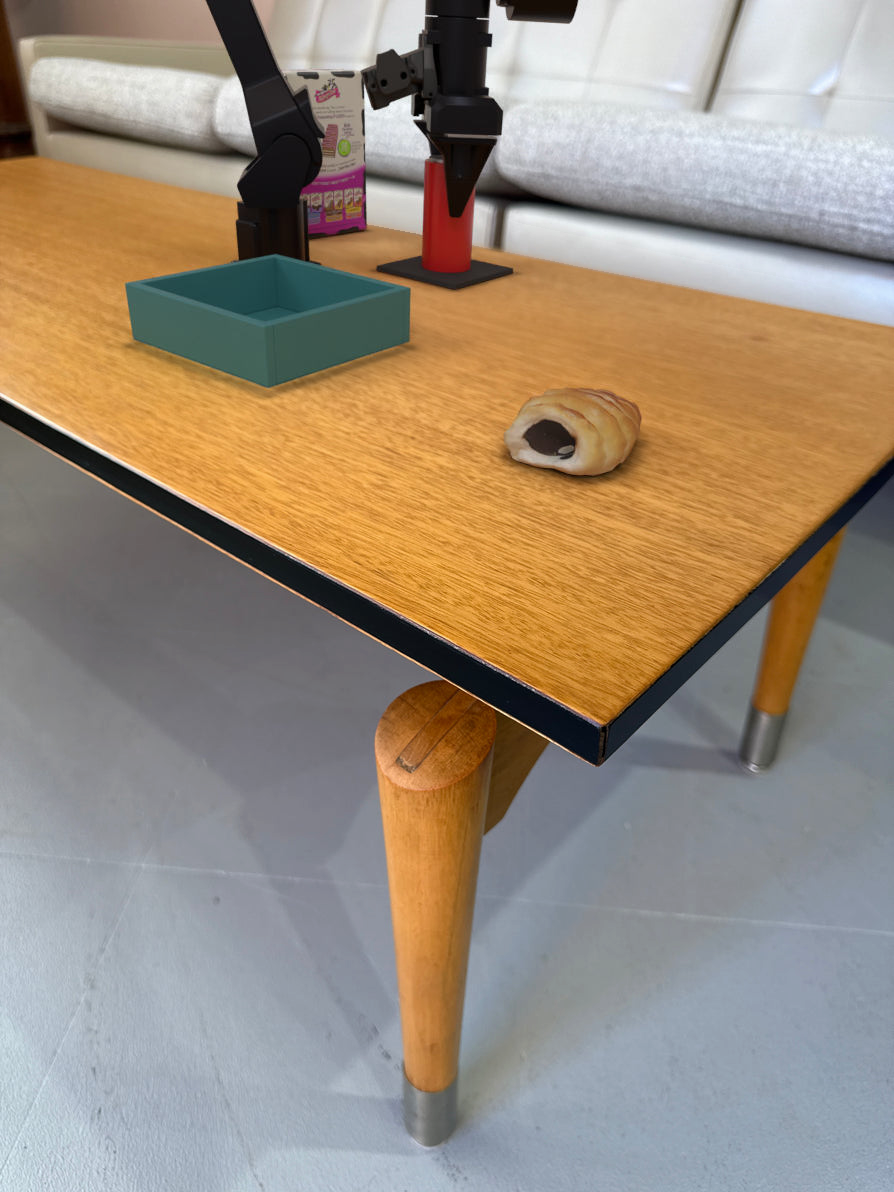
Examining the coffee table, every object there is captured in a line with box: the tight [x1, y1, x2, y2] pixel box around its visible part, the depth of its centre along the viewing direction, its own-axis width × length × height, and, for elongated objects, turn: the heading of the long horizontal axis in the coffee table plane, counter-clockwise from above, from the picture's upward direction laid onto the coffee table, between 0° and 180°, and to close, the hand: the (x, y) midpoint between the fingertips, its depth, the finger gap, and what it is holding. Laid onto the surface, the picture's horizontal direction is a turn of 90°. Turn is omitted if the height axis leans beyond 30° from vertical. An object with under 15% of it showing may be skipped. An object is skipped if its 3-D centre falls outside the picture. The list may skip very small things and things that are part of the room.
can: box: [421, 155, 477, 273], centre depth 86 cm, size 5×5×10 cm
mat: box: [375, 254, 514, 290], centre depth 88 cm, size 10×10×1 cm
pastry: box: [503, 387, 642, 477], centre depth 51 cm, size 9×7×4 cm
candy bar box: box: [281, 68, 368, 239], centre depth 98 cm, size 11×5×16 cm, turn 137°
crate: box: [124, 254, 412, 389], centre depth 65 cm, size 15×15×4 cm
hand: (448, 208), depth 85 cm, fingers open, 9 cm apart
